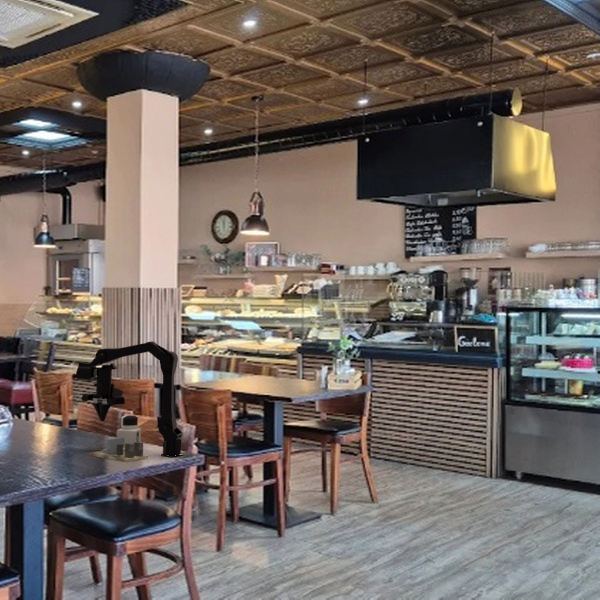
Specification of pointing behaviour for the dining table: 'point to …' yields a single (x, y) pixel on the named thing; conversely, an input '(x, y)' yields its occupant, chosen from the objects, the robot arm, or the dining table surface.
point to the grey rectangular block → (113, 445)
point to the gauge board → (125, 453)
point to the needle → (119, 449)
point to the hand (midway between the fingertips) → (102, 421)
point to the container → (129, 429)
